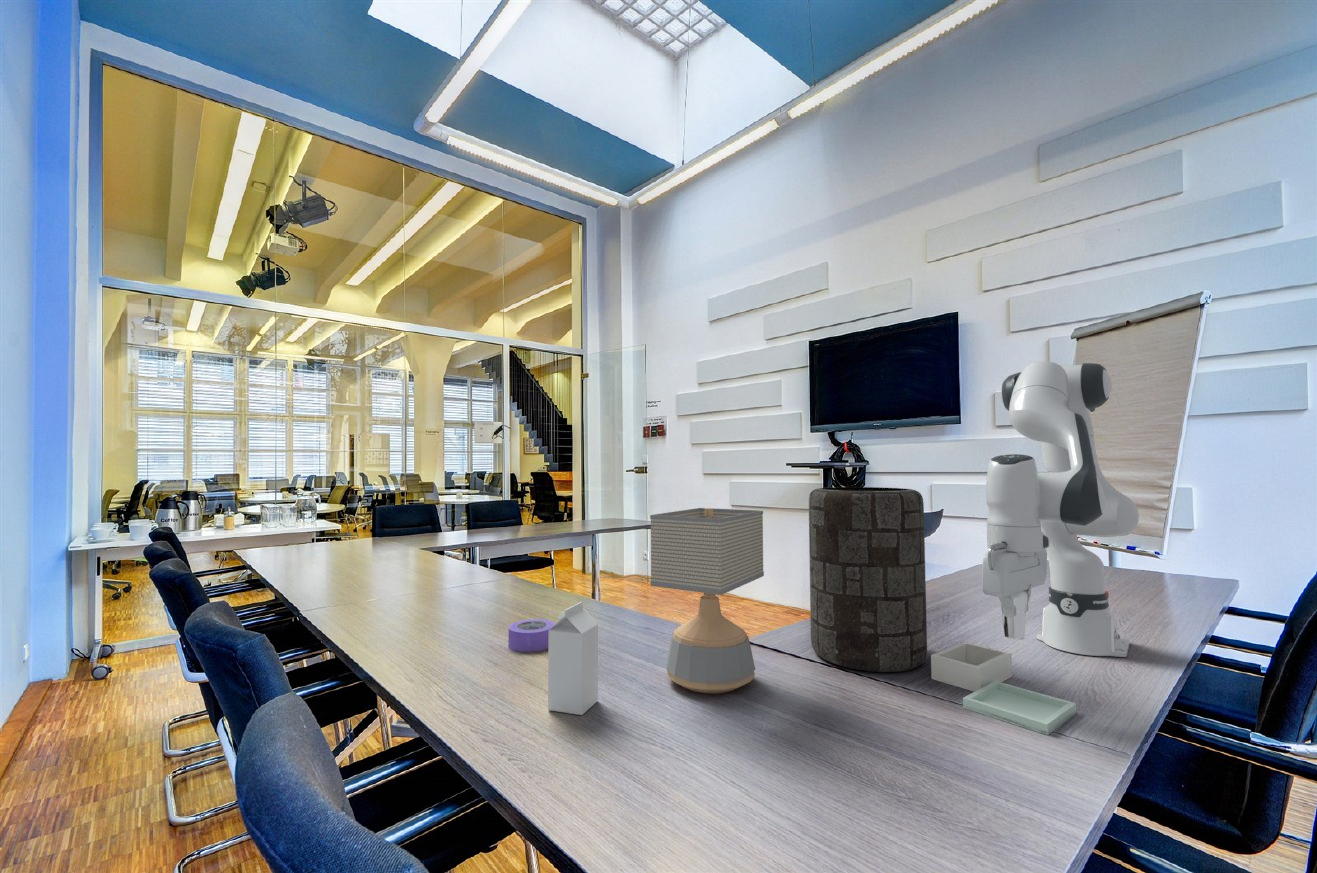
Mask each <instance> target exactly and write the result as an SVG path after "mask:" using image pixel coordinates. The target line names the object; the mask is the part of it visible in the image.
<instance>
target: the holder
mask: <svg viewBox="0 0 1317 873" xmlns="http://www.w3.org/2000/svg"><path fill="white" fill-rule="evenodd" d="M1012 660H1013V658H1012V652H1008V651H1003V650H999V649H997V648H996V649H995V648H991V647H988V646H987V647H986V646H983V645H979V644H975V643H971V642H966V641H963V642H960V643H957V644H955V645H952V646H950V647H948V648H945V649H943V650H941V651H938V652H936V653H935V652H934V653H933V654H931V655H930V668H931V669H930V672H931V679H932V680H933V681H937V682H941V683H944V684H947V685H950V686H953V687H958V688H961V689H964V690H968V691H971V692H972V693H973V692H975V691H977V690H979V689H981V688H983V687H985V686H987V685H988V684H990V683H992V682H994V681H998V682H1001V683H1004V682H1005V681H1007V680H1009V679H1010V678H1012V677H1013V663H1012Z"/></svg>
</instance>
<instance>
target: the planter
mask: <svg viewBox="0 0 1317 873" xmlns="http://www.w3.org/2000/svg"><path fill="white" fill-rule="evenodd" d="M808 497H809V498H808V535H809V536H808V537H809V539H808V541H809V543H808V546H809V595H810V596H809V602H810V603H809V604H810V605H809V607H810V612H809V614H810V642H811V647H812V649H813V651H814V652H815V654H817V656H819V657H820V658H821V659H822V660H825V661H827V662H829V663H831V664H834V665H836V666H840V667H844V668H847V669H852V670H855V671H856V670H857V671H862V672H872V673H874V672H875V673H897V672H904V671H910V670H914V669H915V668H918V667H920V666H921V665H922V664H923V663H925V661H926V659H927V655H928V654H927V653H928V631H927V629H928V628H927V627H928V626H927V589H926V588H927V586H926V583H927V582H926V550H925V549H926V545H925V543H926V542H925V539H926V538H925V509H924V508H925V507H924V506H925V505H924V498H923V495H922V494H921V492H920V491H918V490H915V489H911V488H903V487H902V488H899V487H877V486H876V487H873V486H855V487H854V486H852V487H851V486H845V487H843V486H841V487H840V486H837V487H834V486H833V487H820V488H816V489H815V488H814V489H813V490H812V491H811V492H810V493H809V495H808Z"/></svg>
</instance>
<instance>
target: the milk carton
mask: <svg viewBox="0 0 1317 873" xmlns="http://www.w3.org/2000/svg"><path fill="white" fill-rule="evenodd" d="M557 619H558V621H557V622H556V623H555V625H554V626H553V627H552V628H551V629H549V639H548V649H547V650H548V657H547V658H548V660H547V661H548V665H547V666H548V668H547V671H548V676H547V677H548V678H547V679H548V680H547V685H548V686H547V687H548V689H547V691H548V692H547V710H548V711H551V712H553V711H554V712H558V713H563V714H564V713H565V714H571V715H576V716H583V715H584V714H585V713H587V711H589V709H590V708H591V707H593V706H594V705H596V703H597V702H598V701H599V623H598V622H597V621H596V620H595V618H593V616H591V615H590V614H589V612H588V611H587V610H586V609H585V608H584V607H583V601H580V602H578V603H576V604H574V605H572V606H569V607H568V608H566V609H565V610H564V611H562V612H561V613H559V615H557Z"/></svg>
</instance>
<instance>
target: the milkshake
mask: <svg viewBox="0 0 1317 873" xmlns="http://www.w3.org/2000/svg"><path fill="white" fill-rule="evenodd" d="M1030 587H1031V584H1030ZM1030 587H1029V589H1030ZM1029 589H1028V590H1027V592H1026V593H1025V592H1024V591H1020V592H1017V593H1014V599H1013V602H1014V607H1016V616H1014V617H1006V616H1004V615H1003V607H1002V604H1001V603H1000V606H1001V614H1002V623H1003V633H1004V637H1006V638H1008V639H1012V640H1025V637H1026V635H1025V632H1026V617H1027V616H1026V614H1027V612H1026V607H1027V596H1028V595H1027V593H1028V591H1029Z"/></svg>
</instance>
